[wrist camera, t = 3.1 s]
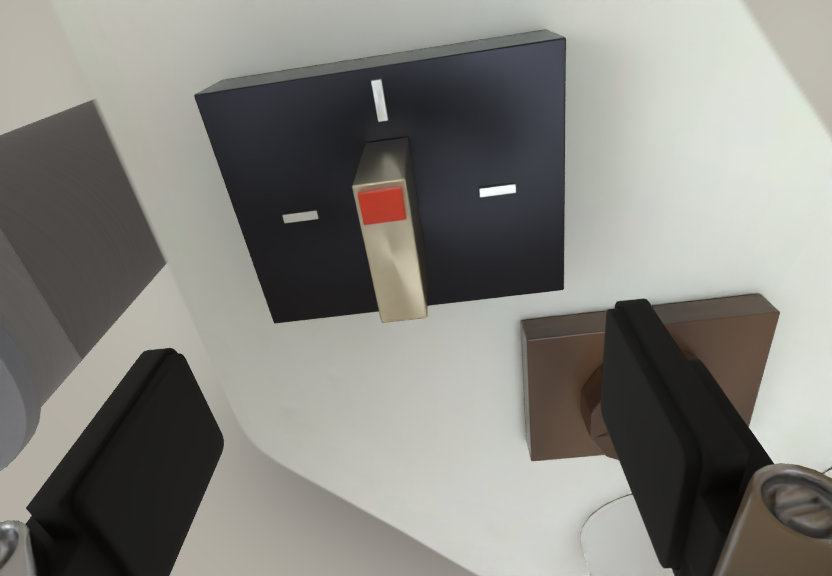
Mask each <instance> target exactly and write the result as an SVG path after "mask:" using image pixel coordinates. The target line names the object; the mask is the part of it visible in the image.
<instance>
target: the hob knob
mask: <svg viewBox="0 0 832 576" xmlns="http://www.w3.org/2000/svg"><path fill="white" fill-rule="evenodd" d="M352 189H353V193H354V198H355V202H356V207H357V212H358V216H359V221H360V225H361V230H362V235H363V239H364V244H365V248H366V253H367V258H368V262H369V267H370V271H371V276H372V280H373V285H374V290H375V294H376V299H377V303H378V308H379V313H380V317H381V322H382V323H385V322H394V321H403V320H412V319H420V318H427V274H426V252H425V246H424V239H423V232H422V226H421V219H420V212H419V206H418V199H417V192H416V186H415V179H414V172H413V166H412V159H411V152H410V146H409V139H408V138H407V137H406V138H399V139H392V140H385V141H378V142H371V143H366V144H365V147H364V151H363V154H362V157H361V160H360V163H359V166H358V170H357V173H356V176H355V179H354V182H353V185H352Z"/></svg>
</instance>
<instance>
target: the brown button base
mask: <svg viewBox="0 0 832 576" xmlns="http://www.w3.org/2000/svg"><path fill="white" fill-rule="evenodd" d="M652 307H653V309H654V310H655V312H656V313H657V315H658V316H659V318H660V319H661V321H662V322H663V324H664V325H665V327H666V328H667V330H668V331H669V333H670V334H671V336H672V337H673V339H674V340H675V342H676V343H677V345H678V346H679V348H680V349H681V351H682V352H683V354H684V355H685V357H686V358H694V357H696V358H698V359H700V360H701V361H702V362H703V363H704V365H705V366H706V367H707V369H708V370H709V372H710V373H711V374H712V376H713V377H714V379H715V380H716V382H717V383H718V384H719V386H720V387H721V389H722V390H723V392H724V393H725V394H726V396H727V397H728V399H729V400H730V401H731V403H732V404H733V406H734V407H735V409H736V410H737V411H738V413H739V414H740V416H741V417H742V419H743V420H744V421H745V423H746V424H747V426H748V427H749V424H750V420H751V417H752V413H753V409H754V406H755V402H756V398H757V395H758V391H759V387H760V384H761V380H762V376H763V373H764V369H765V365H766V362H767V358H768V355H769V351H770V347H771V344H772V340H773V336H774V333H775V329H776V325H777V322H778V318H779V314H780V312H779V311H778V310H777V309H776V308H775V307H774V306H773V305H772V304H771V303H770V302H769V301H768V300H767V299H765V298H764V297H763V296H762V295H761V294H754V295H745V296H736V297H727V298H718V299H709V300H701V301H692V302H683V303H674V304H665V305H656V306H652ZM606 312H607V311H603V312H594V313H585V314H576V315H567V316H558V317H549V318H541V319H532V320H523V321H521V334H522V356H523V379H524V401H525V423H526V441H527V445H528V450H529V454H530V458H531V461H541V460H552V459H563V458H574V457H585V456H596V455H606V456H607V457H610V458H614V459H617V460H619V458H618V456H617V453H616V451H615V448H614V445H613V443H612V440H611V438H610V435H609V433H608V430H607V428H606V425H605V422H604V420H603V417H602V412H601V386H602V370H603V355H604V339H605V323H606Z"/></svg>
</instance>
